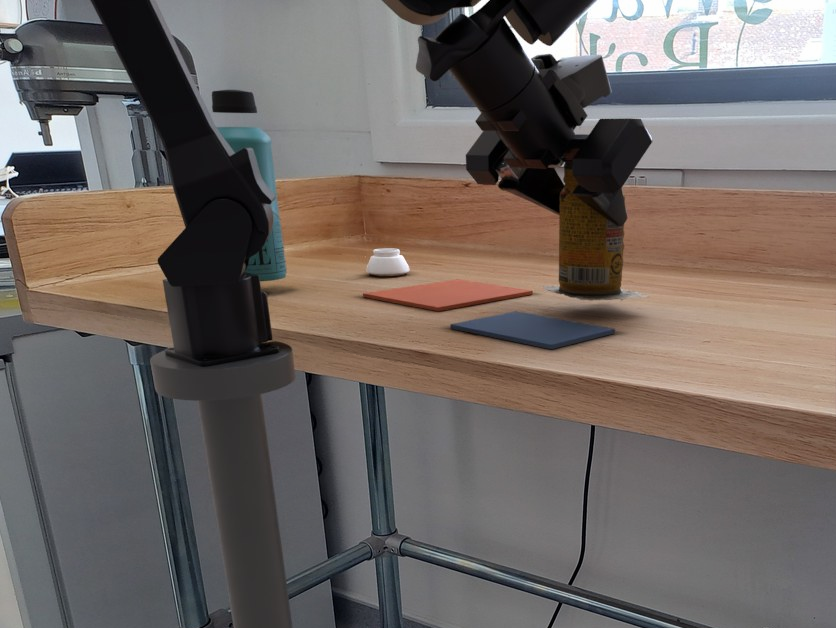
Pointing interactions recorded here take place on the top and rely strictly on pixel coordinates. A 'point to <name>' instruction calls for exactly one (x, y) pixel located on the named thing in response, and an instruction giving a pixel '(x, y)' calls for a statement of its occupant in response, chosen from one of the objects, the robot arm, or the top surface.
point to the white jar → (387, 263)
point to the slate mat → (533, 329)
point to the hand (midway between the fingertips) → (599, 220)
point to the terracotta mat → (447, 294)
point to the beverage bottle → (236, 101)
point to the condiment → (588, 250)
